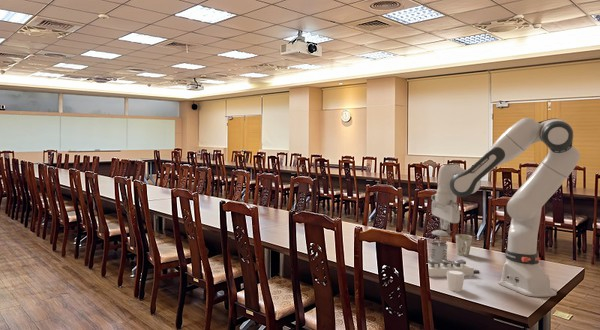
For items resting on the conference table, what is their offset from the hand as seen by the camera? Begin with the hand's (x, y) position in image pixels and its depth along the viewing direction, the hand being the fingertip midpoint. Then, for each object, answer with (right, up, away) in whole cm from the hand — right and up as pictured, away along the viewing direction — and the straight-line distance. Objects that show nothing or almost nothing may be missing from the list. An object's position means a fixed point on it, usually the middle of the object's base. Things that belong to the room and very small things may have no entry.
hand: (444, 228), depth 200 cm
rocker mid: (+1, -15, -1) cm, 15 cm away
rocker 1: (-5, -15, -2) cm, 16 cm away
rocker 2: (+7, -16, 0) cm, 17 cm away
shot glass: (-3, -22, -21) cm, 31 cm away
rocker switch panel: (+3, -20, 0) cm, 20 cm away
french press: (+4, -19, +22) cm, 30 cm away
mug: (+21, -19, +32) cm, 43 cm away
